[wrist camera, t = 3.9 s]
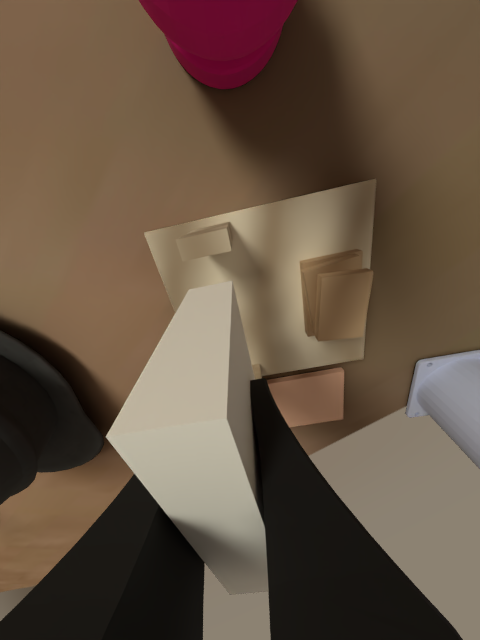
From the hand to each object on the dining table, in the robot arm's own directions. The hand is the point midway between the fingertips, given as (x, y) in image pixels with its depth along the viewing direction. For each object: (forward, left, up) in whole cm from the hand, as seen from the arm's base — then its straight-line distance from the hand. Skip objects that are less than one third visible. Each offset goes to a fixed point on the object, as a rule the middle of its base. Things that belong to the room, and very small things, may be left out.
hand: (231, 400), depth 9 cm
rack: (-3, 0, -10) cm, 10 cm away
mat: (-3, +12, -10) cm, 16 cm away
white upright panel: (0, 0, -3) cm, 3 cm away
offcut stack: (-7, 0, -9) cm, 12 cm away
